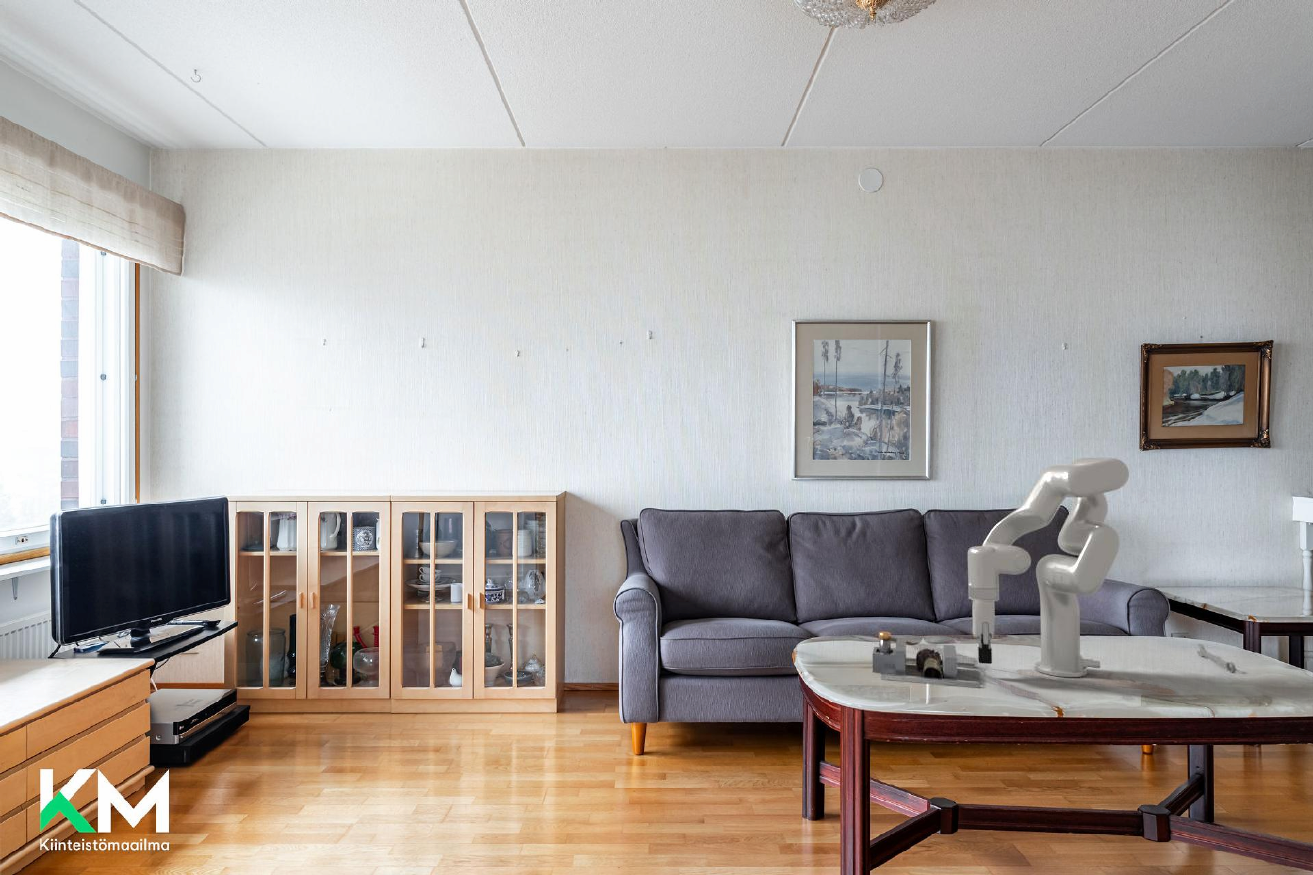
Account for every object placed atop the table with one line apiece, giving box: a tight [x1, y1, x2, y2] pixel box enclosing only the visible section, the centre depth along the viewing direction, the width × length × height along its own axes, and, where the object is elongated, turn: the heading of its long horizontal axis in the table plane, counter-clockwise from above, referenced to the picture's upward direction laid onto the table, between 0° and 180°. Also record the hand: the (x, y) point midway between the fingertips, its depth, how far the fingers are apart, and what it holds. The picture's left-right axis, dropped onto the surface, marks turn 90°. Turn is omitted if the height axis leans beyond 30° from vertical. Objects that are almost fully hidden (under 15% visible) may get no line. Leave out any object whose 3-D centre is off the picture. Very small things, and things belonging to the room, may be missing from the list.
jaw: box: [941, 644, 958, 680], centre depth 211 cm, size 3×14×6 cm, turn 161°
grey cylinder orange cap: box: [878, 631, 892, 653], centre depth 216 cm, size 3×3×10 cm
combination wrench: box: [1196, 643, 1236, 674], centre depth 221 cm, size 4×1×20 cm
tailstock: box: [872, 638, 907, 676], centre depth 215 cm, size 8×14×7 cm, turn 161°
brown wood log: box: [915, 647, 944, 679], centre depth 212 cm, size 18×7×6 cm, turn 160°
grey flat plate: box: [880, 656, 980, 689], centre depth 212 cm, size 24×20×1 cm
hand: (985, 662), depth 208 cm, fingers closed
